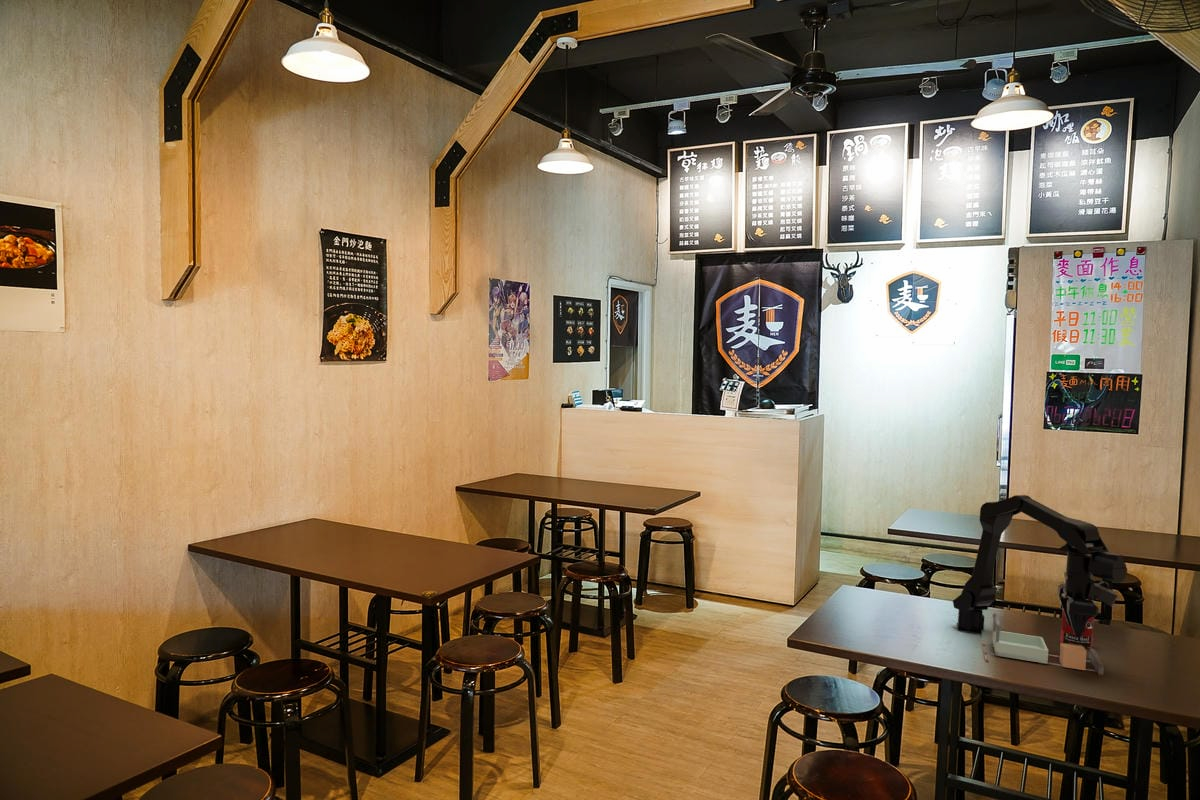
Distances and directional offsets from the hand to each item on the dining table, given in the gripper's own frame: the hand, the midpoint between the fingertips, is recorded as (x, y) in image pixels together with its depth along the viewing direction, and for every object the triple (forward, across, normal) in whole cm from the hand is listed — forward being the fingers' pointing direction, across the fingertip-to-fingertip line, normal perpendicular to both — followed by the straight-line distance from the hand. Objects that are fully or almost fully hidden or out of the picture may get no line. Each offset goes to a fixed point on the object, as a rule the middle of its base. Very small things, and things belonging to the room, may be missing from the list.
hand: (1074, 631), depth 201 cm
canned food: (+10, +20, -4) cm, 23 cm away
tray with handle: (+9, +3, +12) cm, 16 cm away
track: (+10, +3, +7) cm, 13 cm away
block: (+9, 0, 0) cm, 9 cm away
